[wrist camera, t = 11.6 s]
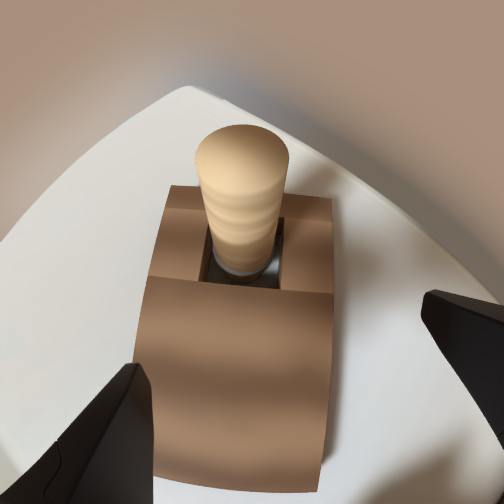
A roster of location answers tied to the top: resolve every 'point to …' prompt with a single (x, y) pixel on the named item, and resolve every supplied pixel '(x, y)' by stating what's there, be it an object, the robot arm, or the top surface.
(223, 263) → the oak peg
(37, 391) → the top surface
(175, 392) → the walnut board
